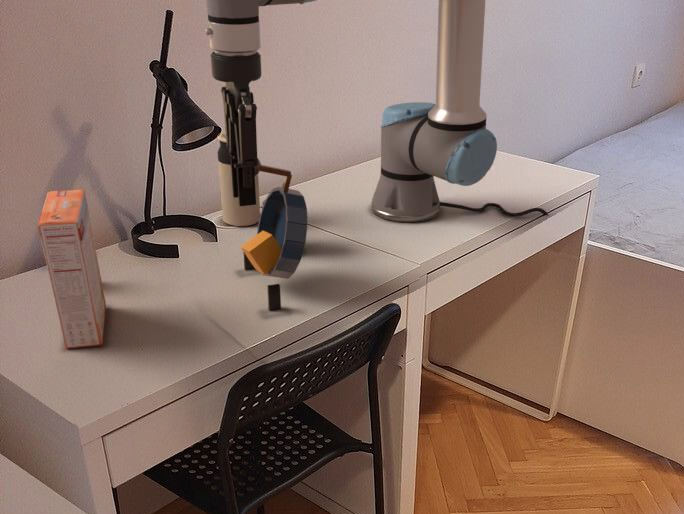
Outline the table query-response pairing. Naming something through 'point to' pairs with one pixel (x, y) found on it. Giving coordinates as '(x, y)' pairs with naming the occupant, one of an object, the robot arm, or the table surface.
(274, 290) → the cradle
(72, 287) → the cracker box
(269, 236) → the block
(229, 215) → the travel mug
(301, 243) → the blue faceted dish
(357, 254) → the table surface
